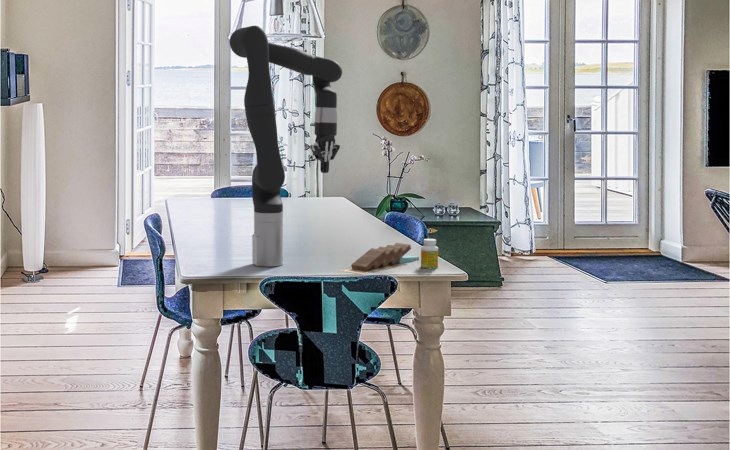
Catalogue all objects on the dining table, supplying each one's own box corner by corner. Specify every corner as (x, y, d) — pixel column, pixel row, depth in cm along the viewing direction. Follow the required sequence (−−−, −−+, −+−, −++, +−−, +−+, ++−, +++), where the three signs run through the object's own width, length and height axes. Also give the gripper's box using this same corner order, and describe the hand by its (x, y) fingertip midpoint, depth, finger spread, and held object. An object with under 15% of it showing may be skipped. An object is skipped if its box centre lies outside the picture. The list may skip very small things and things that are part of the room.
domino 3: (382, 263, 267) (401, 246, 274) (368, 261, 270) (388, 244, 278) (383, 267, 268) (402, 250, 275) (369, 265, 271) (389, 249, 278)
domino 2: (374, 265, 263) (393, 248, 271) (360, 262, 267) (379, 246, 274) (375, 269, 264) (394, 252, 272) (361, 267, 268) (380, 250, 275)
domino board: (361, 276, 256) (361, 274, 256) (338, 273, 262) (338, 270, 262) (407, 266, 275) (407, 263, 275) (385, 262, 280) (385, 260, 280)
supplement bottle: (428, 272, 266) (428, 241, 264) (417, 269, 270) (417, 239, 269) (441, 270, 269) (442, 240, 268) (430, 267, 273) (430, 237, 272)
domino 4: (391, 260, 271) (410, 244, 278) (377, 258, 274) (396, 242, 281) (392, 265, 271) (411, 248, 279) (378, 263, 275) (397, 246, 282)
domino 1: (365, 267, 260) (385, 250, 267) (351, 264, 263) (371, 248, 271) (366, 271, 261) (386, 254, 268) (352, 269, 264) (372, 252, 272)
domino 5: (400, 258, 274) (419, 256, 283) (386, 256, 278) (405, 255, 286) (399, 263, 274) (418, 261, 283) (385, 261, 278) (405, 259, 286)
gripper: (330, 121, 293) (329, 171, 295) (304, 120, 283) (302, 172, 285) (347, 121, 288) (345, 172, 290) (320, 121, 278) (319, 174, 280)
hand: (324, 172), depth 288 cm, fingers closed
